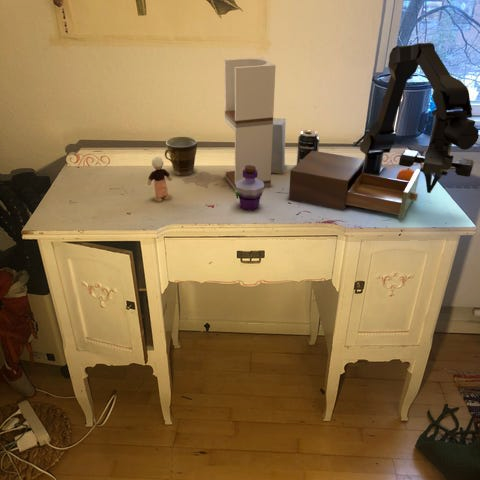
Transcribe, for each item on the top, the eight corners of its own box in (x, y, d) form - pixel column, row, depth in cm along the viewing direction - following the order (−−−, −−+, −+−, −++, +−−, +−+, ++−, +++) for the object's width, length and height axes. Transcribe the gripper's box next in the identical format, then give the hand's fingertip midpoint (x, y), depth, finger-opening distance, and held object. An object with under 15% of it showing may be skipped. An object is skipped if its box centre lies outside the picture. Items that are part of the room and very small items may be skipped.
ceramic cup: (181, 164, 180) (180, 134, 174) (204, 170, 176) (203, 140, 169) (155, 175, 172) (152, 145, 166) (178, 183, 167) (176, 152, 161)
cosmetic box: (282, 174, 173) (284, 125, 164) (260, 172, 174) (262, 123, 165) (285, 165, 180) (288, 117, 170) (264, 163, 181) (266, 116, 171)
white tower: (258, 174, 173) (262, 57, 152) (270, 186, 165) (275, 65, 144) (225, 178, 171) (224, 59, 149) (235, 191, 163) (235, 67, 141)
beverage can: (305, 163, 181) (308, 128, 174) (320, 169, 177) (324, 133, 170) (291, 168, 177) (294, 132, 170) (307, 174, 173) (310, 137, 166)
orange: (397, 182, 168) (400, 163, 165) (416, 185, 166) (420, 166, 163) (392, 189, 164) (396, 169, 160) (412, 193, 162) (416, 173, 158)
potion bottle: (230, 203, 156) (229, 163, 148) (256, 198, 158) (257, 159, 151) (241, 215, 149) (242, 174, 142) (269, 210, 152) (270, 169, 145)
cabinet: (309, 177, 171) (311, 150, 166) (360, 187, 165) (365, 159, 160) (288, 199, 158) (290, 170, 152) (343, 210, 152) (347, 180, 147)
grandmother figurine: (166, 193, 161) (163, 152, 153) (174, 197, 159) (171, 155, 151) (146, 200, 157) (141, 159, 149) (154, 204, 154) (150, 162, 147)
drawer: (360, 184, 165) (364, 160, 160) (420, 195, 159) (426, 170, 154) (343, 207, 152) (346, 181, 147) (408, 219, 145) (414, 194, 141)
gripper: (400, 140, 136) (389, 197, 145) (476, 152, 130) (459, 210, 139) (408, 128, 144) (397, 182, 153) (481, 138, 138) (465, 194, 147)
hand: (428, 192), depth 148 cm, fingers closed
